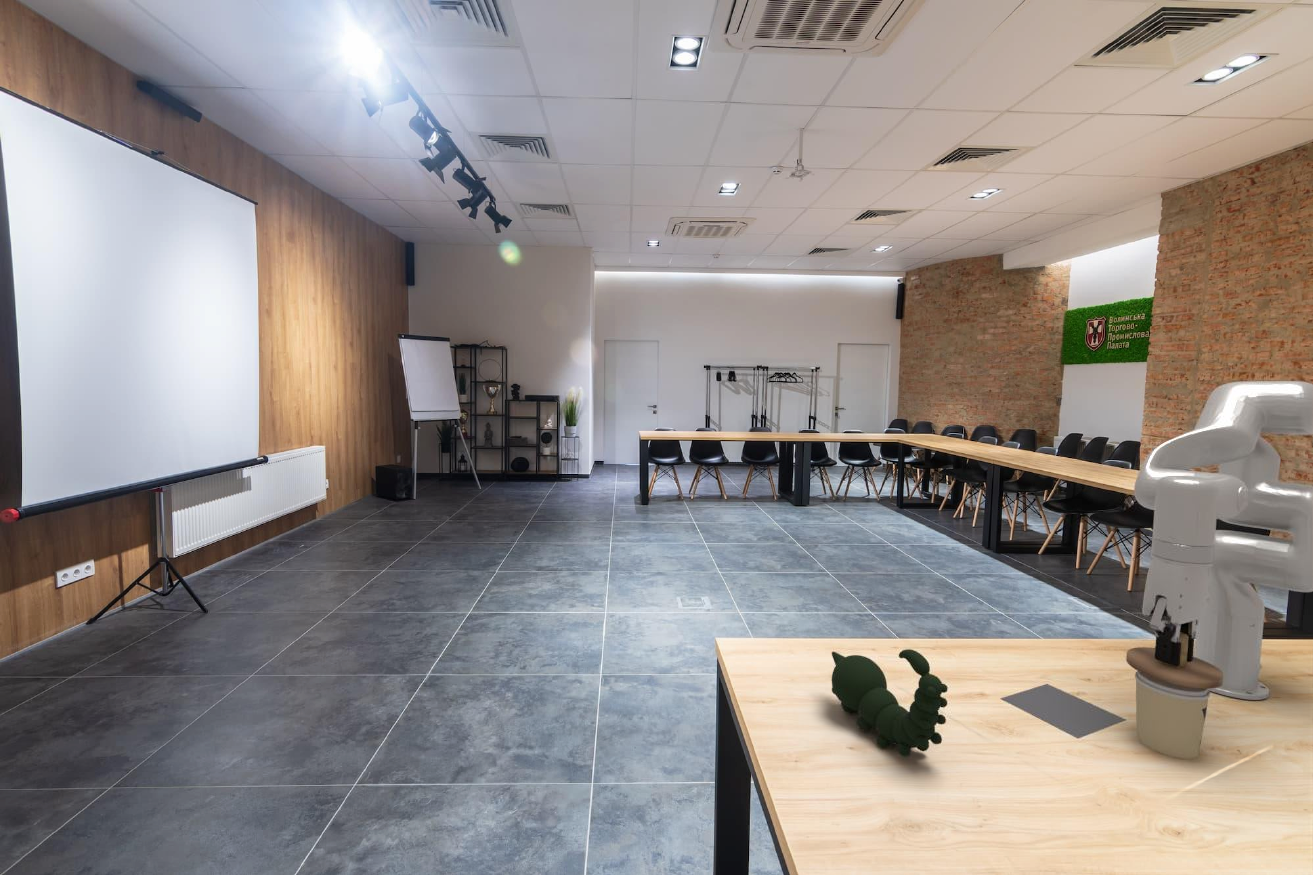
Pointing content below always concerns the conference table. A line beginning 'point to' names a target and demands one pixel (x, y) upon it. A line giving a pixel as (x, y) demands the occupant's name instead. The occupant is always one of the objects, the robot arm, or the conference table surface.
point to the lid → (1184, 674)
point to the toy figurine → (890, 701)
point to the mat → (1063, 710)
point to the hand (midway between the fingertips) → (1173, 659)
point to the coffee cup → (1170, 716)
